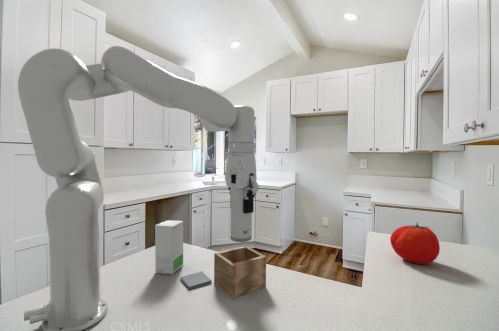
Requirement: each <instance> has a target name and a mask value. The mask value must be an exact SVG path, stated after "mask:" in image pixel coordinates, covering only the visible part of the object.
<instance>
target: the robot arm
mask: <svg viewBox="0 0 499 331" xmlns="http://www.w3.org/2000/svg"><path fill="white" fill-rule="evenodd" d="M17 90H18V91H17V92H18V97H19V102H20V106H21V108H22V111H23V115H24V118H25V122H26V126H27V130H28V133H29V137H30V140H31V145H32V147H33V148H32V149H33V150H34V155H35V157H36V162H37V165H38V167H39V169H40V170H41V171H42V172H43V173H45V174H46V175H48V176H50V177H53V178H54V179H55V182H56V186H57V188H56V189H54V190H53V192H51V193H50V195H49V197H48V199H47V201H46V204H45V211H44V212H45V220H46V227H47V233H48V248H49V249H48V250H49V251H48V253H49V254H48V256H49V298H50V299H49V301H48V304H44V305H43V306H42V307H40V308H39V307H38V308H33V309H30V310H29V309H28V310H26V311H24V312H23V322H27V321H29V325H32V324H36V323H39V322H41V331H84V330H86V329H89V328H90V327H92V326H93V325H95V324H97V323H99V321H100V320H102V319H103V318H104V317H105V316H106V314H107V311H108V303H107V302H106V300H104V299H102V298H101V273H100V271H101V266H100V265H101V264H100V262H101V259H100V254H101V253H100V252H101V251H100V250H101V249H100V248H101V247H100V223H99V209H100V207H101V206H102V204H103V203H104V198H105V197H104V196H105V194H104V189H103V185H102V182H101V177H100V173H99V169H98V168H97V164H96V160H95V156H94V153H93V151H92V149H91V147H90V146H89V145H88V144H87V143H86V142H85V141H84V140H82V139H81V138H80V135H79V131H78V128H77V125H76V120H75V116H74V113H73V111H72V110H73V109H72V108H71V104H70V100H71V101H76V102H79V101H82V102H83V101H89V100H94V99H98V98H99V99H100V98H104V97H111V96H115V95H119V94H123V93H128V92H130V91H131V92H133V93H135V94H137V95H140V96H141V97H143V98H145V99H147V100H149V101H150V102H152V103H154V104H156V105H158V106H161V107H163V108H166V109H167V108H168V109H179V110H182V111H185V112H188V113H190V114H192V115H194V116H197V117H199V118H200V119H199V121H200V125H201V126H202V128H204V129H205V130H206V131H208V132H210V133H212V132H213V133H217V132H218V133H219V132H228V155H227V161H226V172H225V184H226V186H227V188H228V192H229V196H230V204H229V205H230V209H231V175H236V178H237V179H236V180H235V181H236V188H237V189H240V190H243V193H244V198H245V199H243V213H245V214H246V213H252V214H253V213H254V203H255V202H254V199H255V198H256V195H257V192H258V191H259V190H260V186H259V184H258V182H257V178H258V176H257V162H256V157H255V146H256V145H255V127H256V126H255V116H256V115H255V110H254V107H252V106H248V105H235V106H234V104H233V102H231V101H230V100H229V99H227V98H225V96H222V95H220V93H217V92H216V91H214V90H212V89H211V88H209V87H207V86H205V85H202V84H200V83H197V82H194V81H191V80H188V79H185V78H183V77H179V76H176V75H175V74H173V73H171V72H168V70H165V69H164V68H161V67H160V66H158V65H157V64H155V63H154V62H151V61H150V60H148V59H146V58H145V57H143V56H141V55H139V54H138V53H136V52H134V51H132V50H130V49H129V48H127V47H123V46H120V45H114V46H110V47H109V48H107V49H106V50H105V51H104V52H103V54H102V57H101V62H100V63H96V64H95V63H94V64H89V65H85V63H83V61H82V60H81V59H80V58H79V57H77V56H76V55H75V54H74V53H72V52H70V51H67V50H64V49H62V48H61V49H60V48H48V49H43V50H41V51H39V52H37V53H35V54H33V55H32V56H31V57H30V58H28V59H27V60H26V62H25V63H24V64H23V66H22V67H21V70H20V72H19V76H18V80H17ZM247 186H250V188H247ZM248 190H250V191H249V193H247V191H248Z"/></svg>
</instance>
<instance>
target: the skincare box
mask: <svg viewBox="0 0 499 331" xmlns="http://www.w3.org/2000/svg"><path fill="white" fill-rule="evenodd" d="M154 229H155V232H154V234H155V235H154V236H155V237H154V238H155V239H154V241H155V243H154V245H155V247H154V248H155V250H154V254H155V255H154V256H155V258H154V259H155V261H154V262H155V266H154V267H155V269H154V270H155V273H157V274H164V275H165V274H166V275H173V274H174V273H175V272H177V271H178V270H179V269H180V268H182V267H183V266H184V221H183V220H171V219H169V220H165V221H162V222H160V223H157V224H155V225H154Z"/></svg>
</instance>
